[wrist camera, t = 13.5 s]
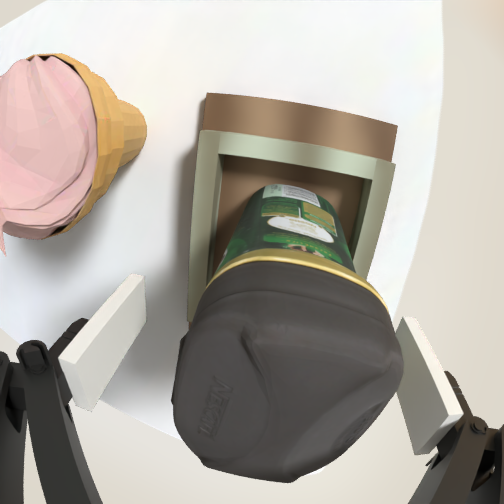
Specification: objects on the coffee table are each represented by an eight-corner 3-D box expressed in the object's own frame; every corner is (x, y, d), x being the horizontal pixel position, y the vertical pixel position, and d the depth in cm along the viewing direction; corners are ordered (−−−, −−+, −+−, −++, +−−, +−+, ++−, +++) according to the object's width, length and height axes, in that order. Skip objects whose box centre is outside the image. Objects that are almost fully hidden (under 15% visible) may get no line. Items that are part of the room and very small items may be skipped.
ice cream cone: (133, 215, 27) (-34, 346, 9) (61, 143, 25) (-116, 199, 7) (209, 122, 23) (11, 135, 5) (123, 51, 21) (-73, 11, 3)
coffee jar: (311, 301, 27) (324, 502, 10) (225, 277, 27) (152, 468, 10) (350, 200, 24) (463, 362, 7) (254, 170, 24) (167, 290, 7)
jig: (191, 324, 31) (181, 345, 28) (209, 93, 22) (197, 89, 19) (334, 347, 30) (338, 370, 27) (393, 125, 22) (409, 126, 19)
